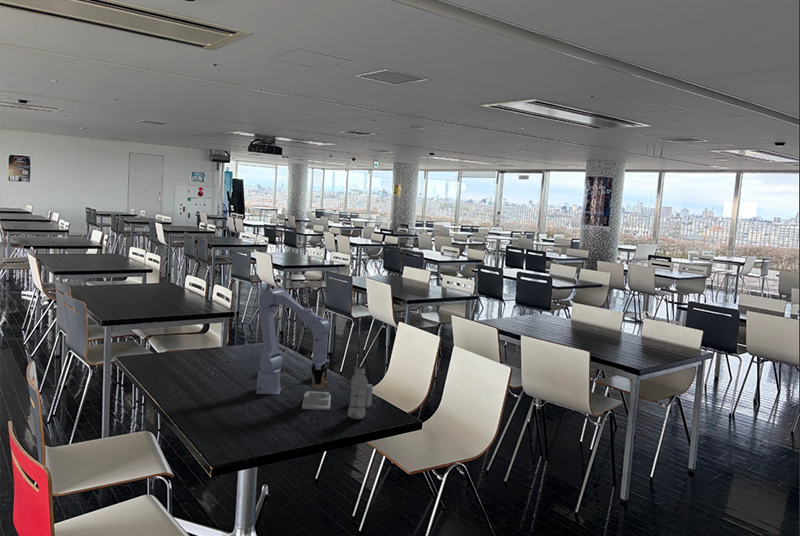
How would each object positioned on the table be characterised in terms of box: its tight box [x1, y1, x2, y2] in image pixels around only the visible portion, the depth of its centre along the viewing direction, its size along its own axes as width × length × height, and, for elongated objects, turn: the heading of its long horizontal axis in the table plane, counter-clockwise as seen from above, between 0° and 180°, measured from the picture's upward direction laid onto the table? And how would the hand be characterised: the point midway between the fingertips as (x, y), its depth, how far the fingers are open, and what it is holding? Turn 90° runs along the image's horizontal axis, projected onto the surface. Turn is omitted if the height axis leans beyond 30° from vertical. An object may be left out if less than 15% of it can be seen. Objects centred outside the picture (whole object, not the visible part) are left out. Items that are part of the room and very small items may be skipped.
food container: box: [277, 346, 287, 374], centre depth 279 cm, size 12×6×10 cm, turn 168°
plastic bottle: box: [347, 366, 369, 420], centre depth 228 cm, size 6×7×20 cm
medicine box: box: [365, 383, 374, 408], centre depth 244 cm, size 8×4×9 cm, turn 71°
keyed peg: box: [311, 373, 328, 389], centre depth 242 cm, size 4×6×6 cm
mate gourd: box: [310, 348, 328, 381], centre depth 271 cm, size 8×8×15 cm
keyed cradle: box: [301, 390, 332, 411], centre depth 243 cm, size 11×15×3 cm
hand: (318, 381), depth 242 cm, fingers closed on keyed peg, 4 cm apart
